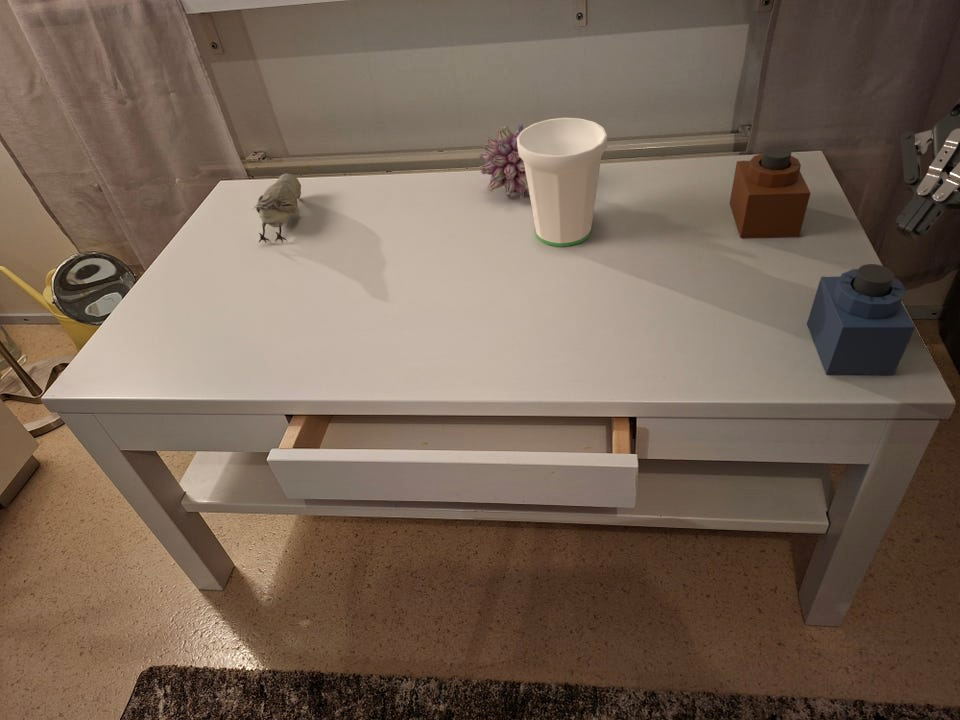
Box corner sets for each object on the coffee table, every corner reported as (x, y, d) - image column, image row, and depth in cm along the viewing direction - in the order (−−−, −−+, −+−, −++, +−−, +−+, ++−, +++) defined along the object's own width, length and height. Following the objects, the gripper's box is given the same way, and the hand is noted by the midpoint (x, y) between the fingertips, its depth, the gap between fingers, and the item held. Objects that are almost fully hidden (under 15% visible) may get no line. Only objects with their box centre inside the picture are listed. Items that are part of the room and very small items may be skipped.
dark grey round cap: (848, 279, 72) (853, 264, 70) (882, 279, 71) (888, 263, 70) (857, 298, 69) (863, 282, 68) (892, 298, 69) (899, 282, 67)
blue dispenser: (806, 323, 80) (825, 262, 74) (868, 323, 79) (892, 261, 73) (825, 374, 73) (848, 312, 67) (893, 375, 72) (922, 311, 66)
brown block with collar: (799, 237, 93) (814, 179, 87) (740, 238, 94) (751, 181, 88) (784, 201, 100) (797, 145, 94) (729, 203, 102) (738, 148, 96)
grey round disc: (790, 171, 90) (794, 157, 89) (763, 172, 91) (766, 158, 89) (785, 159, 93) (788, 145, 91) (758, 160, 93) (761, 146, 92)
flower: (537, 181, 116) (565, 197, 106) (473, 195, 114) (496, 213, 104) (531, 113, 110) (560, 123, 100) (464, 127, 108) (487, 138, 98)
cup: (546, 204, 107) (543, 112, 97) (617, 220, 101) (622, 124, 91) (507, 243, 100) (499, 148, 89) (582, 262, 94) (582, 163, 84)
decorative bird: (313, 197, 117) (301, 158, 112) (288, 247, 106) (274, 206, 101) (284, 199, 118) (271, 160, 113) (256, 248, 106) (240, 208, 101)
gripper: (950, 44, 65) (837, 197, 69) (1104, 76, 57) (965, 249, 61) (960, 83, 71) (855, 223, 75) (1102, 117, 62) (975, 274, 66)
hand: (905, 234), depth 68 cm, fingers closed
